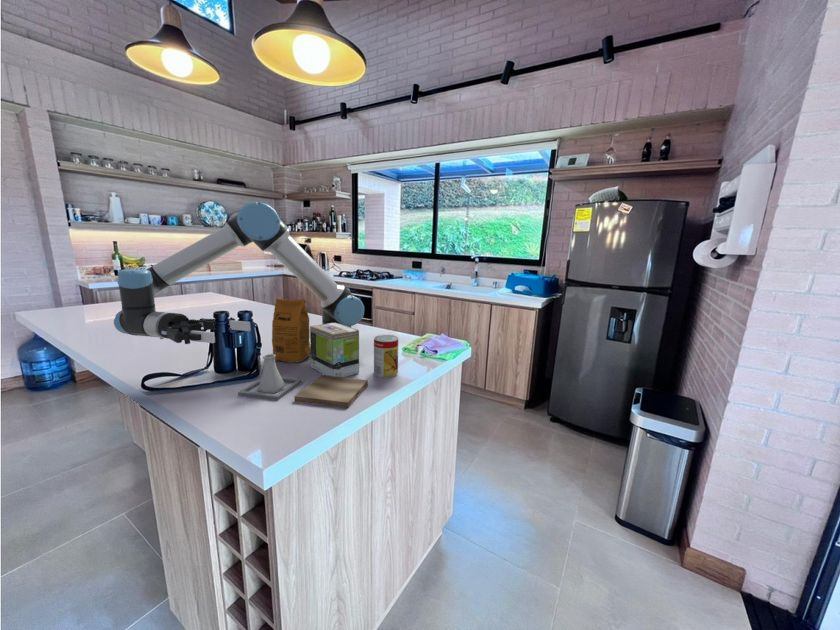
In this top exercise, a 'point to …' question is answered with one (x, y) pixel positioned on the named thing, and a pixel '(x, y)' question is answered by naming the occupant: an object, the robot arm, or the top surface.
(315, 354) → the tea box
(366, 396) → the top surface
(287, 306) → the coffee package
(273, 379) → the flask
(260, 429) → the top surface
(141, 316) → the robot arm
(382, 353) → the canned food
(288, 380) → the grey square frame
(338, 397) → the walnut board
